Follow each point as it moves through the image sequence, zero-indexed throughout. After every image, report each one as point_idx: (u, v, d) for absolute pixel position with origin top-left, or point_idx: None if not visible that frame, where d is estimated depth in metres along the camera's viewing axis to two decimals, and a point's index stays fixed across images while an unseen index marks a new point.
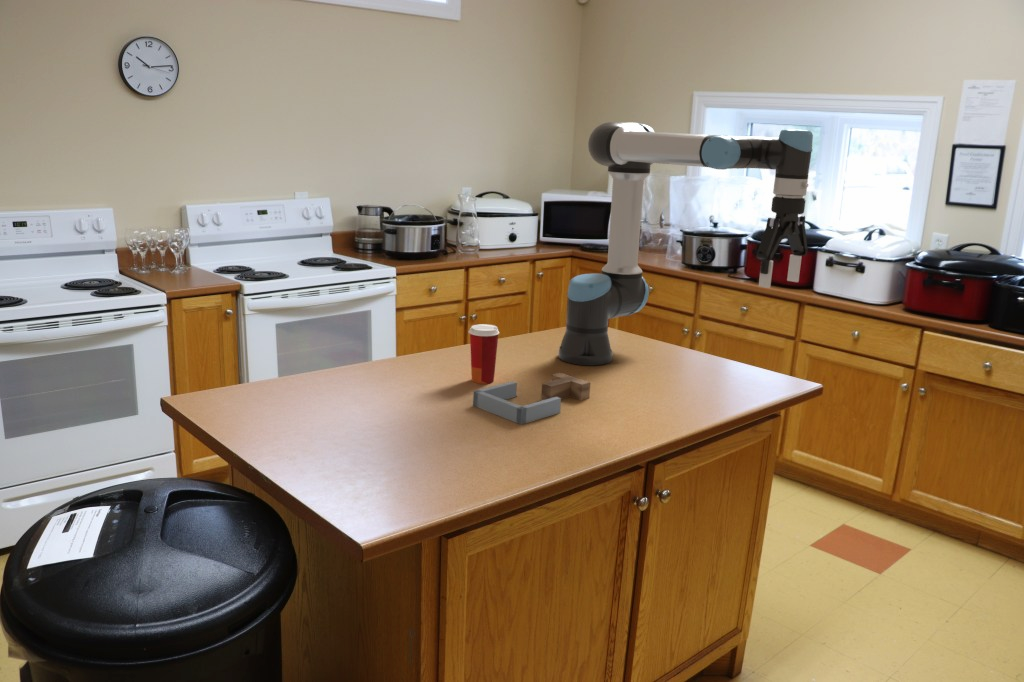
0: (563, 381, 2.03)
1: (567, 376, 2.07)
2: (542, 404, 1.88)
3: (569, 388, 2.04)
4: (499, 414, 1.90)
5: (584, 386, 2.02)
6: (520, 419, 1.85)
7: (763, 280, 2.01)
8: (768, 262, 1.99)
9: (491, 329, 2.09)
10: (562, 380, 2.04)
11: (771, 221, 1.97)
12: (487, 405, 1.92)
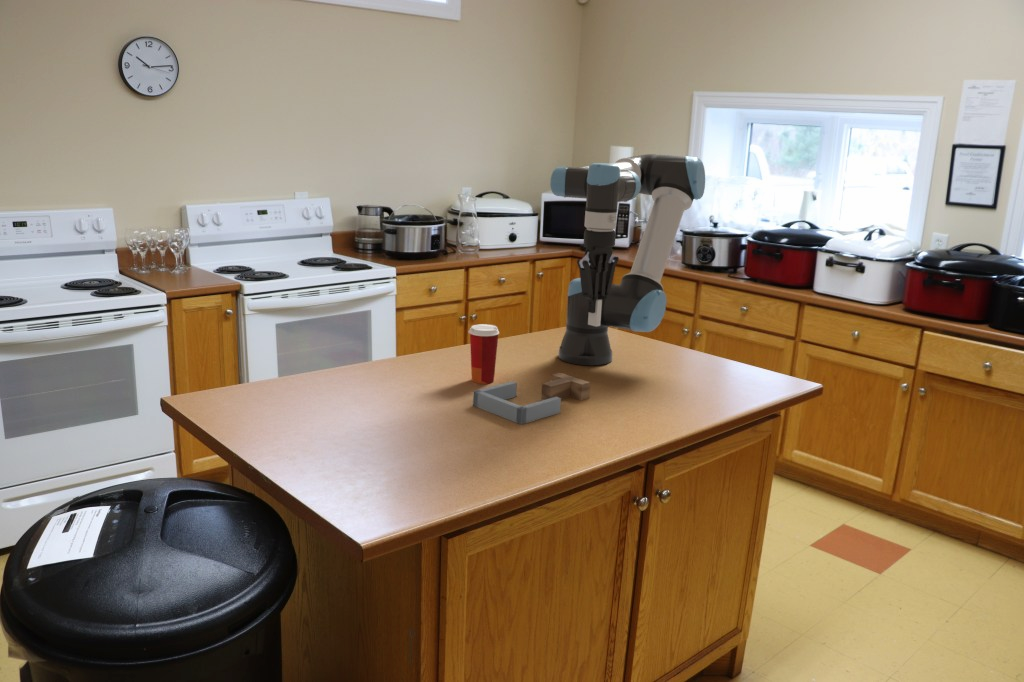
0: (563, 381, 2.03)
1: (567, 376, 2.07)
2: (542, 404, 1.88)
3: (569, 388, 2.04)
4: (499, 414, 1.90)
5: (584, 386, 2.02)
6: (520, 419, 1.85)
7: (591, 318, 2.07)
8: (594, 301, 2.05)
9: (491, 329, 2.09)
10: (562, 380, 2.04)
11: (581, 264, 2.00)
12: (487, 405, 1.92)
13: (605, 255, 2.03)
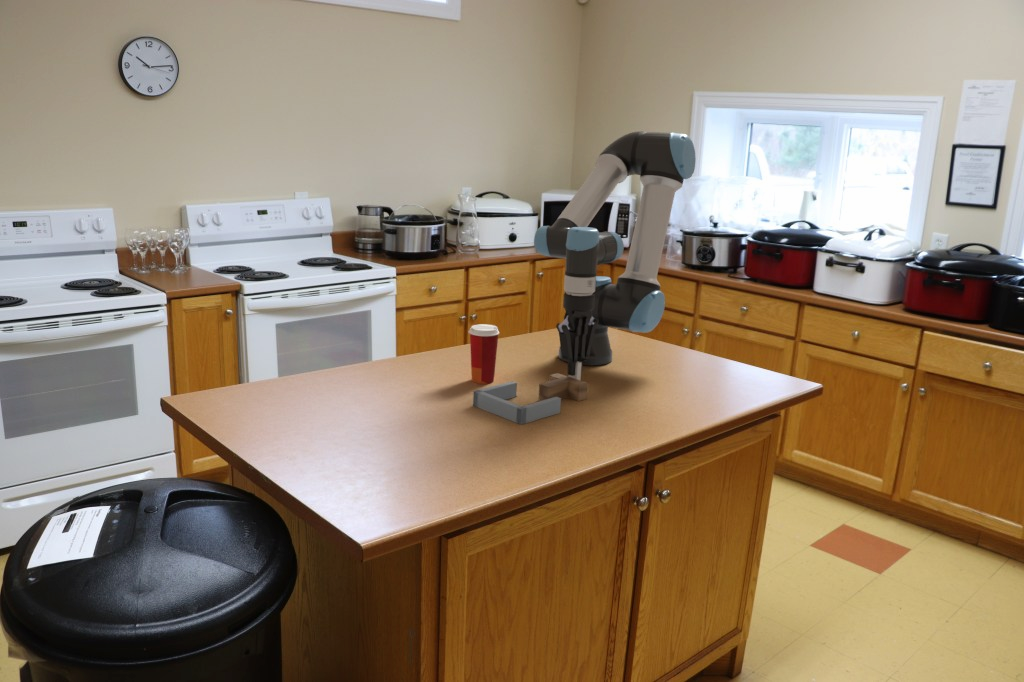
0: (560, 382, 2.03)
1: (564, 376, 2.07)
2: (542, 404, 1.88)
3: (566, 389, 2.03)
4: (499, 414, 1.90)
5: (581, 386, 2.01)
6: (520, 419, 1.85)
7: None
8: (574, 364, 2.04)
9: (491, 329, 2.09)
10: (559, 381, 2.03)
11: (560, 329, 1.99)
12: (487, 405, 1.92)
13: (585, 318, 2.02)
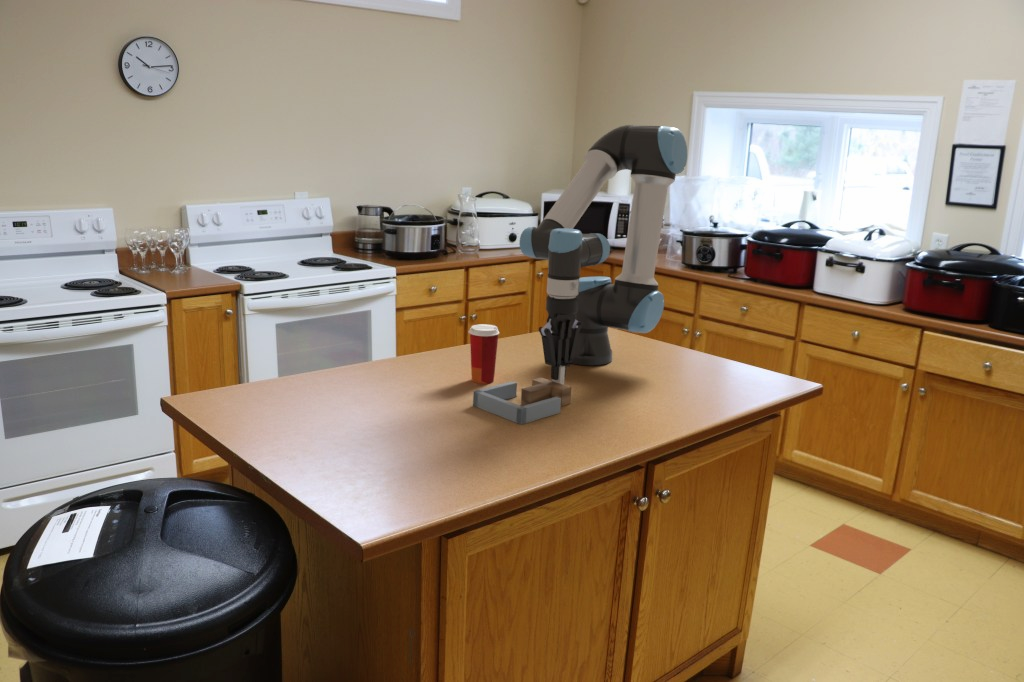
0: (543, 386, 1.99)
1: (548, 381, 2.03)
2: (542, 404, 1.88)
3: (550, 393, 1.99)
4: (499, 414, 1.90)
5: (564, 391, 1.97)
6: (520, 419, 1.85)
7: None
8: (558, 368, 2.00)
9: (491, 329, 2.09)
10: (542, 385, 1.99)
11: (543, 332, 1.95)
12: (487, 405, 1.92)
13: (568, 322, 1.98)
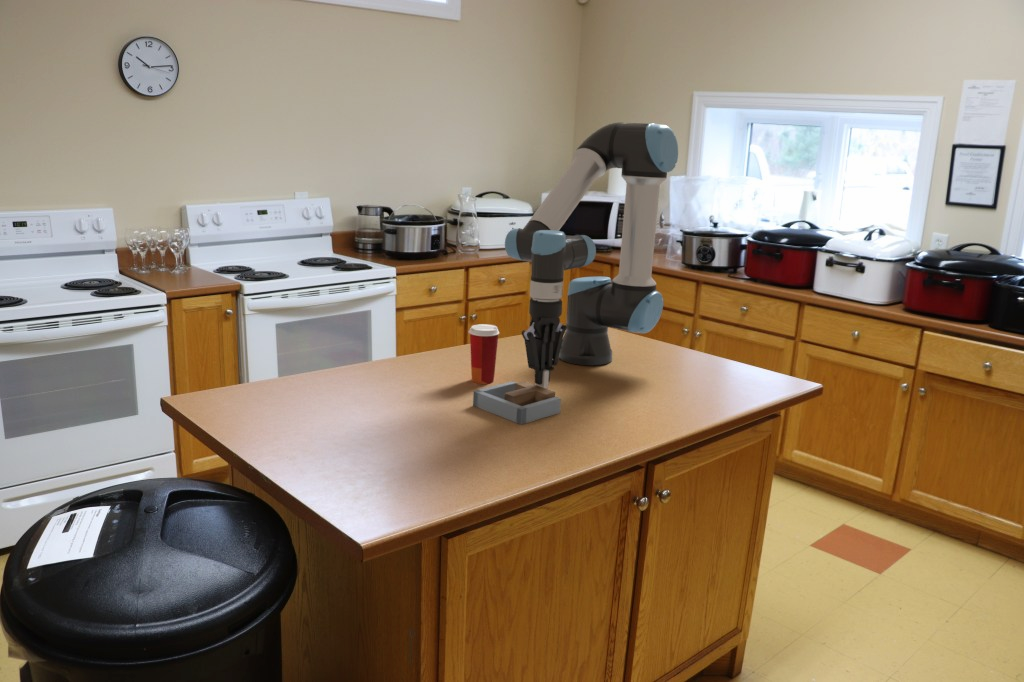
0: (527, 391, 1.95)
1: (532, 385, 1.99)
2: (542, 404, 1.88)
3: (533, 398, 1.96)
4: (499, 414, 1.90)
5: (548, 395, 1.94)
6: (520, 419, 1.85)
7: None
8: (541, 372, 1.97)
9: (491, 329, 2.09)
10: (526, 390, 1.95)
11: (525, 336, 1.92)
12: (487, 405, 1.92)
13: (552, 325, 1.95)
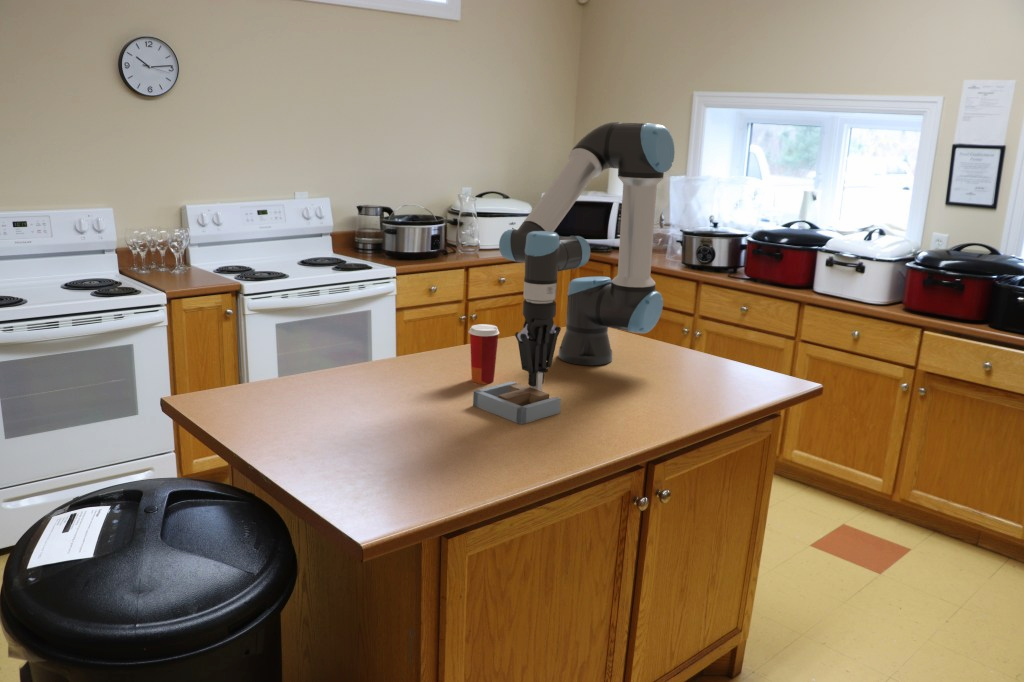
0: (521, 393, 1.93)
1: (526, 387, 1.98)
2: (542, 404, 1.88)
3: (527, 400, 1.94)
4: (499, 414, 1.90)
5: (542, 397, 1.92)
6: (520, 419, 1.85)
7: None
8: (535, 374, 1.95)
9: (491, 329, 2.09)
10: (520, 392, 1.94)
11: (519, 338, 1.90)
12: (487, 405, 1.92)
13: (545, 327, 1.93)
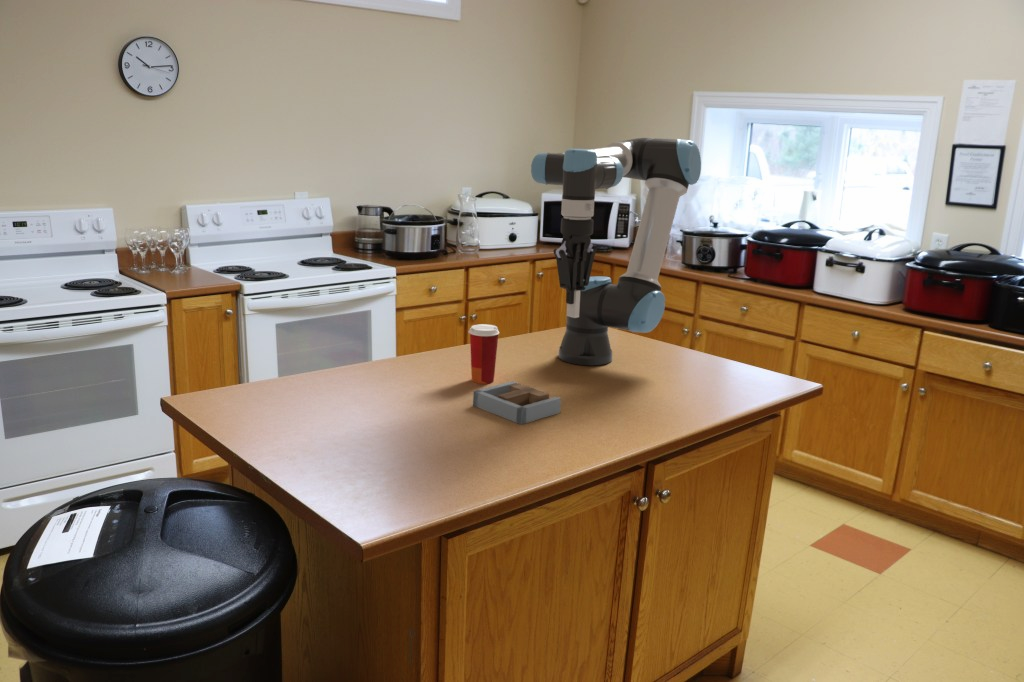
0: (520, 393, 1.93)
1: (525, 387, 1.98)
2: (542, 404, 1.88)
3: (527, 400, 1.94)
4: (499, 414, 1.90)
5: (542, 397, 1.92)
6: (520, 419, 1.85)
7: (570, 310, 2.00)
8: (573, 292, 1.98)
9: (491, 329, 2.09)
10: (519, 392, 1.94)
11: (557, 254, 1.93)
12: (487, 405, 1.92)
13: (583, 244, 1.96)
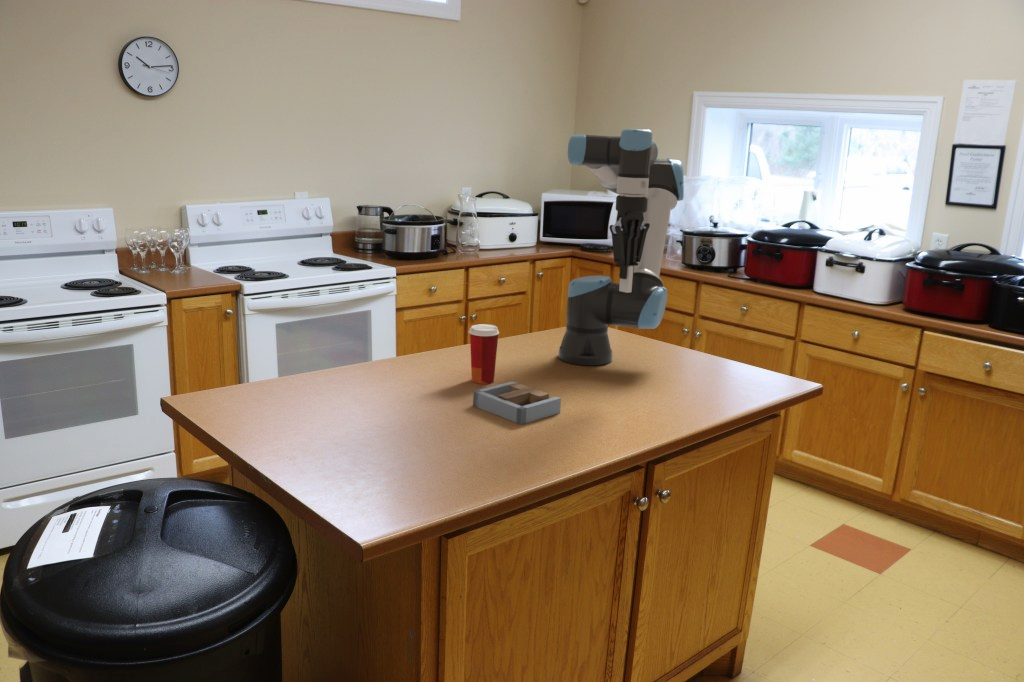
0: (520, 393, 1.93)
1: (526, 387, 1.98)
2: (542, 404, 1.88)
3: (527, 400, 1.94)
4: (499, 414, 1.90)
5: (542, 397, 1.92)
6: (520, 419, 1.85)
7: (623, 285, 2.08)
8: (626, 267, 2.06)
9: (491, 329, 2.09)
10: (520, 392, 1.94)
11: (613, 230, 2.01)
12: (487, 405, 1.92)
13: (637, 221, 2.04)
